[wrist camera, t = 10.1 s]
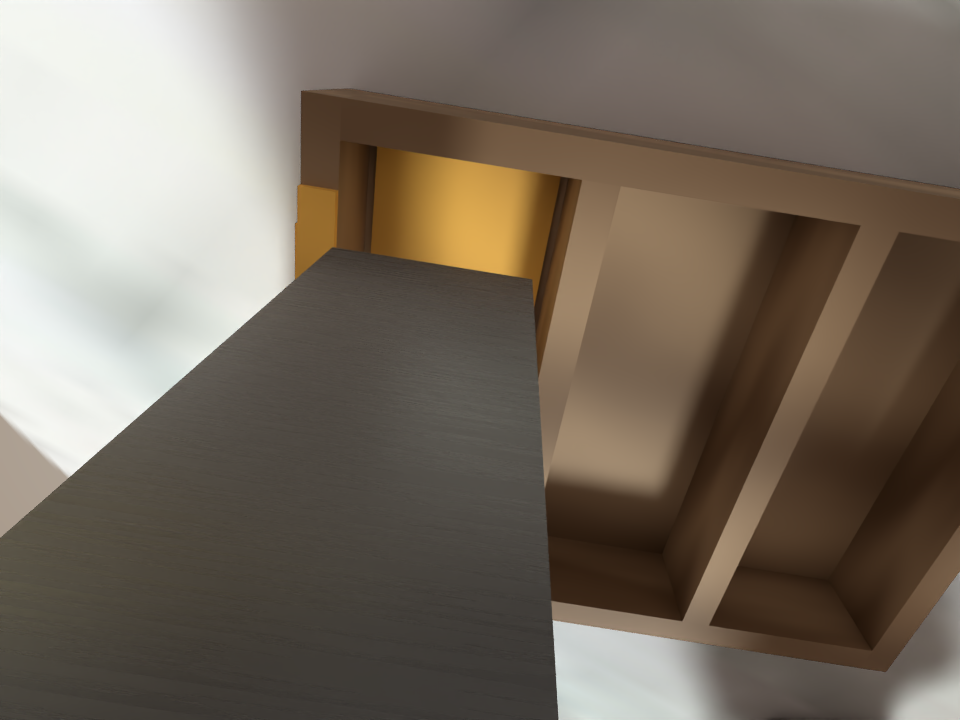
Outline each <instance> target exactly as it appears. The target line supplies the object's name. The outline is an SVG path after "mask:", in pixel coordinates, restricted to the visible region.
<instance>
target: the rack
mask: <svg viewBox="0 0 960 720" xmlns="http://www.w3.org/2000/svg"><path fill="white" fill-rule="evenodd" d="M332 247H336V248H342V249H348V250H354V251H360V252H366V253H373V254H379V255H385V256H391V257H397V258H404V259H410V260H416V261H422V262H428V263H434V264H441V265H447V266H453V267H459V268H465V269H472V270H478V271H484V272H490V273H496V274H502V275H509V276H515V277H521V278H527V279H532V283H533V300H534V317H535V333H536V350H537V367H538V384H539V401H540V418H541V435H542V452H543V469H544V486H545V502H546V519H547V536H548V553H549V570H550V587H551V604H552V620H555V621H561V622H568V623H574V624H580V625H587V626H593V627H600V628H606V629H612V630H619V631H625V632H632V633H638V634H645V635H651V636H657V637H664V638H670V639H677V640H683V641H689V642H696V643H702V644H709V645H715V646H722V647H728V648H734V649H741V650H747V651H754V652H760V653H766V654H773V655H779V656H786V657H792V658H798V659H805V660H811V661H818V662H824V663H831V664H837V665H843V666H850V667H856V668H863V669H869V670H875V671H882V672H886V671H887V670H888V669H889V667H890V666H891V664H892V663H893V662H894V660H895V659H896V658H897V656H898V655H899V654H900V652H901V651H902V649H903V648H904V647H905V645H906V644H907V643H908V641H909V640H910V638H911V637H912V636H913V634H914V633H915V632H916V630H917V629H918V628H919V626H920V625H921V623H922V622H923V621H924V619H925V618H926V617H927V615H928V614H929V612H930V611H931V610H932V608H933V607H934V606H935V604H936V603H937V602H938V600H939V599H940V597H941V596H942V595H943V593H944V592H945V591H946V589H947V588H948V586H949V585H950V584H951V582H952V581H953V580H954V578H955V577H956V576H957V574H958V573H959V571H960V189H957V188H951V187H945V186H939V185H933V184H926V183H920V182H914V181H908V180H902V179H896V178H890V177H884V176H878V175H872V174H866V173H860V172H854V171H847V170H841V169H835V168H829V167H823V166H817V165H811V164H805V163H799V162H793V161H787V160H781V159H775V158H768V157H762V156H756V155H750V154H744V153H738V152H732V151H726V150H720V149H714V148H708V147H702V146H696V145H689V144H683V143H677V142H671V141H665V140H659V139H653V138H647V137H641V136H635V135H629V134H623V133H617V132H610V131H604V130H598V129H592V128H586V127H580V126H574V125H568V124H562V123H556V122H550V121H544V120H538V119H531V118H525V117H519V116H513V115H507V114H501V113H495V112H489V111H483V110H477V109H471V108H465V107H458V106H452V105H446V104H440V103H434V102H428V101H422V100H416V99H410V98H404V97H398V96H392V95H386V94H379V93H373V92H367V91H361V90H355V89H329V90H309V91H301V184H300V185H298V196H297V223H295V279H297V278H298V277H299V276H300V275H301V274H302V273H303V272H305V271H306V270H307V269H308V268H309V267H310V266H311V265H313V264H314V263H315V262H316V261H317V260H318V259H319V258H321V257H322V256H323V255H324V254H325V253H326V252H327V251H329V250H330V249H331V248H332Z"/></svg>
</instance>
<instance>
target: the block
mask: <svg viewBox="0 0 960 720" xmlns="http://www.w3.org/2000/svg"><path fill="white" fill-rule="evenodd" d="M0 720H558V705H557V688H556V671H555V654H554V638H553V621H552V604H551V587H550V570H549V553H548V536H547V519H546V502H545V486H544V469H543V452H542V435H541V418H540V401H539V384H538V367H537V350H536V333H535V317H534V300H533V283H532V279H527V278H521V277H515V276H509V275H502V274H496V273H490V272H484V271H478V270H472V269H465V268H459V267H453V266H447V265H441V264H434V263H428V262H422V261H416V260H410V259H404V258H397V257H391V256H385V255H379V254H373V253H366V252H360V251H354V250H348V249H342V248H336V247H332V248H331V249H330V250H329V251H327V252H326V253H325V254H324V255H323V256H322V257H321V258H319V259H318V260H317V261H316V262H315V263H314V264H313V265H311V266H310V267H309V268H308V269H307V270H306V271H305V272H303V273H302V274H301V275H300V276H299V277H298V278H297V279H295V280H294V281H293V282H292V283H291V284H290V285H289V286H287V287H286V288H285V289H284V290H283V291H282V292H281V293H279V294H278V295H277V296H276V297H275V298H274V299H273V300H271V301H270V302H269V303H268V304H267V305H266V306H265V307H263V308H262V309H261V310H260V311H259V312H258V313H257V314H255V315H254V316H253V317H252V318H251V319H250V320H249V321H247V322H246V323H245V324H244V325H243V326H242V327H241V328H239V329H238V330H237V331H236V332H235V333H234V334H233V335H231V336H230V337H229V338H228V339H227V340H226V341H225V342H223V343H222V344H221V345H220V346H219V347H218V348H217V349H215V350H214V351H213V352H212V353H211V354H210V355H209V356H207V357H206V358H205V359H204V360H203V361H202V362H201V363H199V364H198V365H197V366H196V367H195V368H194V369H193V370H191V371H190V372H189V373H188V374H187V375H186V376H185V377H183V378H182V379H181V380H180V381H179V382H178V383H177V384H176V385H174V386H173V387H172V388H171V389H170V390H169V391H168V392H166V393H165V394H164V395H163V396H162V397H161V398H160V399H158V400H157V401H156V402H155V403H154V404H153V405H152V406H150V407H149V408H148V409H147V410H146V411H145V412H144V413H142V414H141V415H140V416H139V417H138V418H137V419H136V420H134V421H133V422H132V423H131V424H130V425H129V426H128V427H126V428H125V429H124V430H123V431H122V432H121V433H120V434H118V435H117V436H116V437H115V438H114V439H113V440H112V441H110V442H109V443H108V444H107V445H106V446H105V447H104V448H102V449H101V450H100V451H99V452H98V453H97V454H96V455H94V456H93V457H92V458H91V459H90V460H89V461H88V462H86V463H85V464H84V465H83V466H82V467H81V468H80V469H78V470H77V471H76V472H75V473H74V474H73V475H72V476H70V477H69V478H68V479H67V480H66V481H65V482H64V483H62V484H61V485H60V486H59V487H58V488H57V489H56V490H54V491H53V492H52V493H51V494H50V495H49V496H48V497H47V498H45V499H44V500H43V501H42V502H41V503H40V504H38V505H37V506H36V507H35V508H34V509H33V510H32V511H30V512H29V513H28V514H27V515H26V516H25V517H24V518H23V519H22V520H20V521H19V522H18V523H17V524H16V525H15V526H13V527H12V528H11V529H10V530H9V531H8V532H7V533H5V534H4V535H3V536H2V537H1V538H0Z"/></svg>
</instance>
